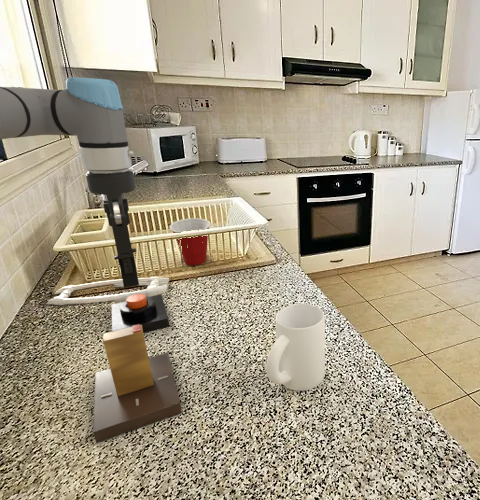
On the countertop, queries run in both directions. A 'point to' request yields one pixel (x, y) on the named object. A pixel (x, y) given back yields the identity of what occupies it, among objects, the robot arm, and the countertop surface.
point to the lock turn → (128, 359)
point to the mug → (298, 348)
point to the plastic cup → (192, 240)
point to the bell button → (136, 301)
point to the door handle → (150, 291)
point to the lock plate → (134, 401)
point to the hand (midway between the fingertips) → (131, 284)
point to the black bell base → (141, 315)
